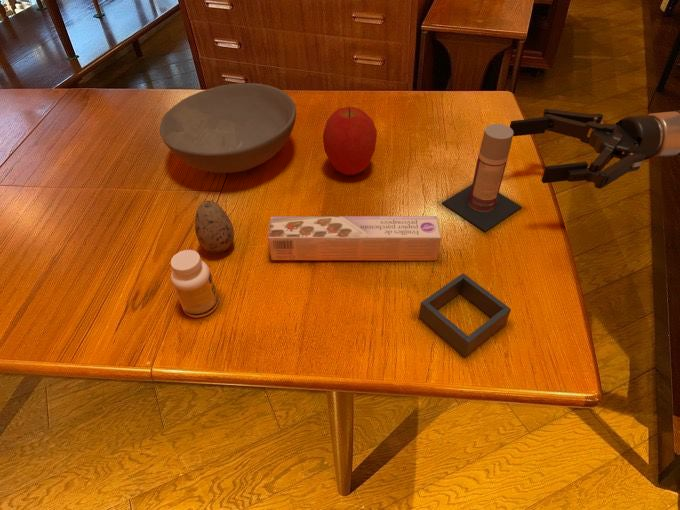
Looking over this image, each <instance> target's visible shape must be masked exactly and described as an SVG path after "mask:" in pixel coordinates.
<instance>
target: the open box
mask: <svg viewBox="0 0 680 510" xmlns="http://www.w3.org/2000/svg"><path fill="white" fill-rule="evenodd" d="M458 295H461V296H462V297H464V298H465V299H466V300H467V301H469V302H470V303H471V304H473V305H474V306H475V307H476V308H478V309H479V310H480V311H481V312H483V313H484V314H485V315H486V316H488V317H489V318H490V319H487V321H485V322H484V323H483V324H482V325H479V327H478V328H476V329H475V330H474V331H473V332H472V333H470V334H466V333H465V332H464V331H463V330H462V329H460V327H458V326H457V325H456V324H454V323H453V322H452V321H451V320H450V319H449V318H447V317H446V316H445V315H443V313H441V312H440V311H439V309H441V308H442V307H443V306H445V304H447V303H449V302H450V301H452V300H454V298H455V297H457V296H458ZM511 311H512V308H511V307H509V306H508V305H506V303H504V302H503V301H501V300H500V299H498V298H497V297H496V296H494V295H493V294H492V293H491V292H489V291H488V290H486V289H485V288H484V287H483V286H481V284H478V283H477V282H476V281H474V279H472V278H471V277H469V276H468V275H466V274H465V273H464V272H462V273H461V274H459V275H457V277H455V278H454V279H452V280H451V281H449V282H448V283H447V284H445V285H444V286H442V287H441V288H440V289H438V290H437V291H435V292H434V293H432V294H431V295H429V296H428V297H427V298H425V299H424V300H422V301H421V302H420V306H419V311H418V318H419V319H420V320H421V321H422V322H423V323H424V324H426V325H427V326H428V327H429V328H430V329H431V330H432V331H434V332H435V333H436V334H437V335H438V336H439V337H441V339H443V340H444V341H445V342H446V343H447V344H448V345H450V347H452V348H453V349H454V350H455V351H456V352H457V353H458V354H460V355H461V356H462V357H463V358H466V357H467V356H468V355H470V353H472V352H474V350H476V349H477V348H478V347H479V346H481V345H482V344H483V343H485V341H486V340H487V341H488V339H489V338H490V337H492V336H493V335H494V334H495V333H496V332H498V331H499V330H500V329H502V328H503V327H504V326H505V325H506V324H507V322H508V319H509V316H510V313H511Z"/></svg>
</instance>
